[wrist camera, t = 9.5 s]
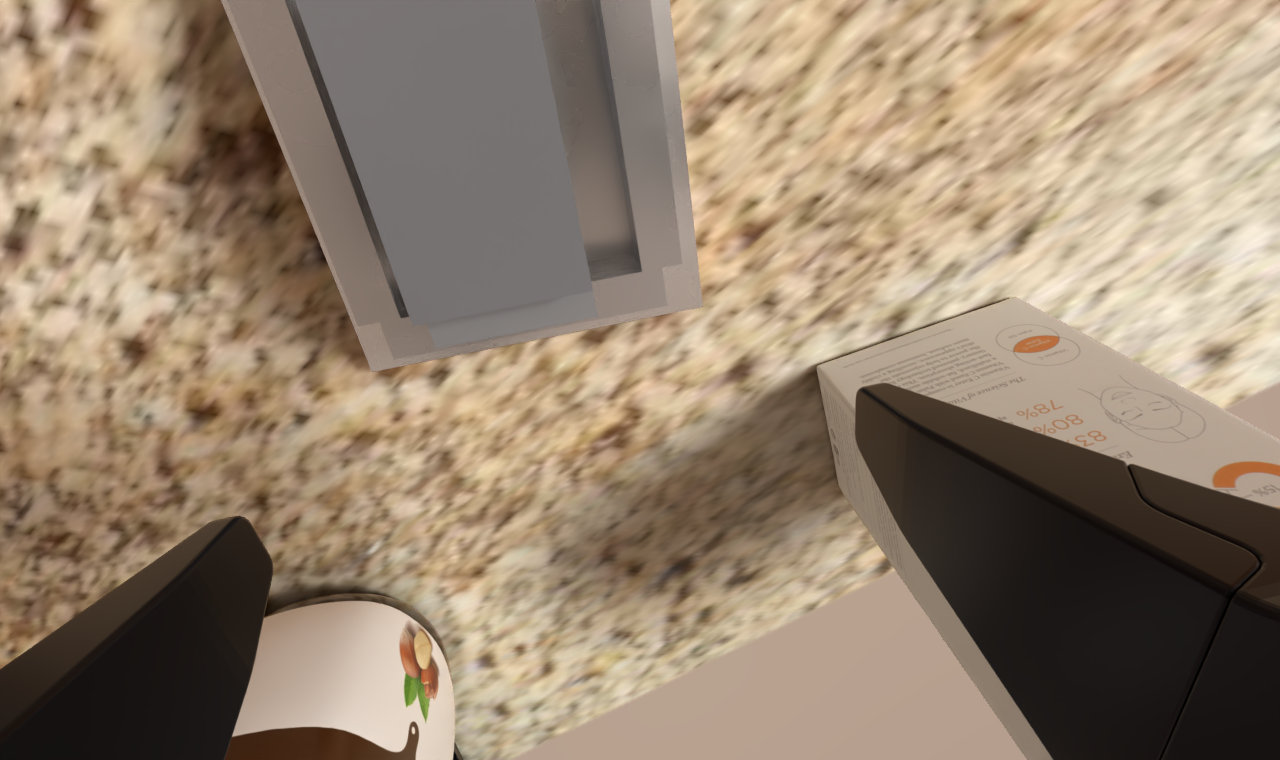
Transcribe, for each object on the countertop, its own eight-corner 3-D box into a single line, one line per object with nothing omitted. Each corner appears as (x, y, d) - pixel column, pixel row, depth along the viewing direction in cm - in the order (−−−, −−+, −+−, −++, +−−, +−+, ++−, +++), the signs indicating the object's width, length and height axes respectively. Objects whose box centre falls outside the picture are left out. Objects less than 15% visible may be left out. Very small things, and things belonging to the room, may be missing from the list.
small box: (836, 487, 27) (1054, 814, 16) (811, 362, 24) (1061, 657, 13) (1019, 425, 27) (1374, 710, 15) (1018, 290, 24) (1462, 524, 12)
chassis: (697, 298, 22) (716, 328, 20) (377, 361, 21) (358, 399, 19) (636, -247, 15) (654, -297, 13) (163, -177, 15) (94, -217, 12)
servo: (584, 256, 20) (602, 335, 15) (457, 281, 20) (428, 370, 14) (500, -155, 15) (483, -257, 10) (329, -128, 15) (216, -218, 10)
